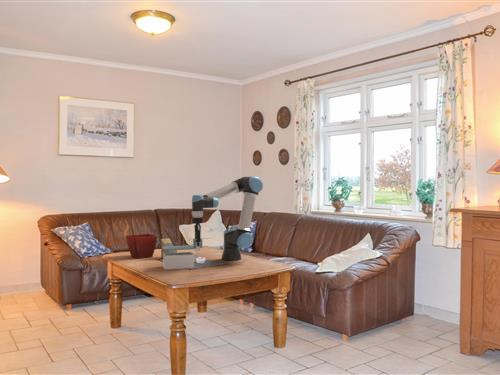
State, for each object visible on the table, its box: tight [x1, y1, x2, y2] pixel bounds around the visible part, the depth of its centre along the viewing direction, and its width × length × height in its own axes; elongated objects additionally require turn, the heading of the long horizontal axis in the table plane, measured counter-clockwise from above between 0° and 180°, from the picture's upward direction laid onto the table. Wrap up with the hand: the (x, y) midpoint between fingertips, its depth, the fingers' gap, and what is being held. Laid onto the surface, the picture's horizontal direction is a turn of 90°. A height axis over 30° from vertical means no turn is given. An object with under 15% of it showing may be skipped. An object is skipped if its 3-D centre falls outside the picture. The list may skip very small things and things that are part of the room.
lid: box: [163, 238, 203, 251], centre depth 309 cm, size 27×13×6 cm, turn 104°
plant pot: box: [125, 233, 158, 259], centre depth 353 cm, size 19×19×17 cm
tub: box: [162, 251, 195, 271], centre depth 308 cm, size 20×12×10 cm, turn 104°
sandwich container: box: [160, 238, 178, 259], centre depth 346 cm, size 9×15×15 cm, turn 51°
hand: (197, 250), depth 311 cm, fingers closed on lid, 4 cm apart
